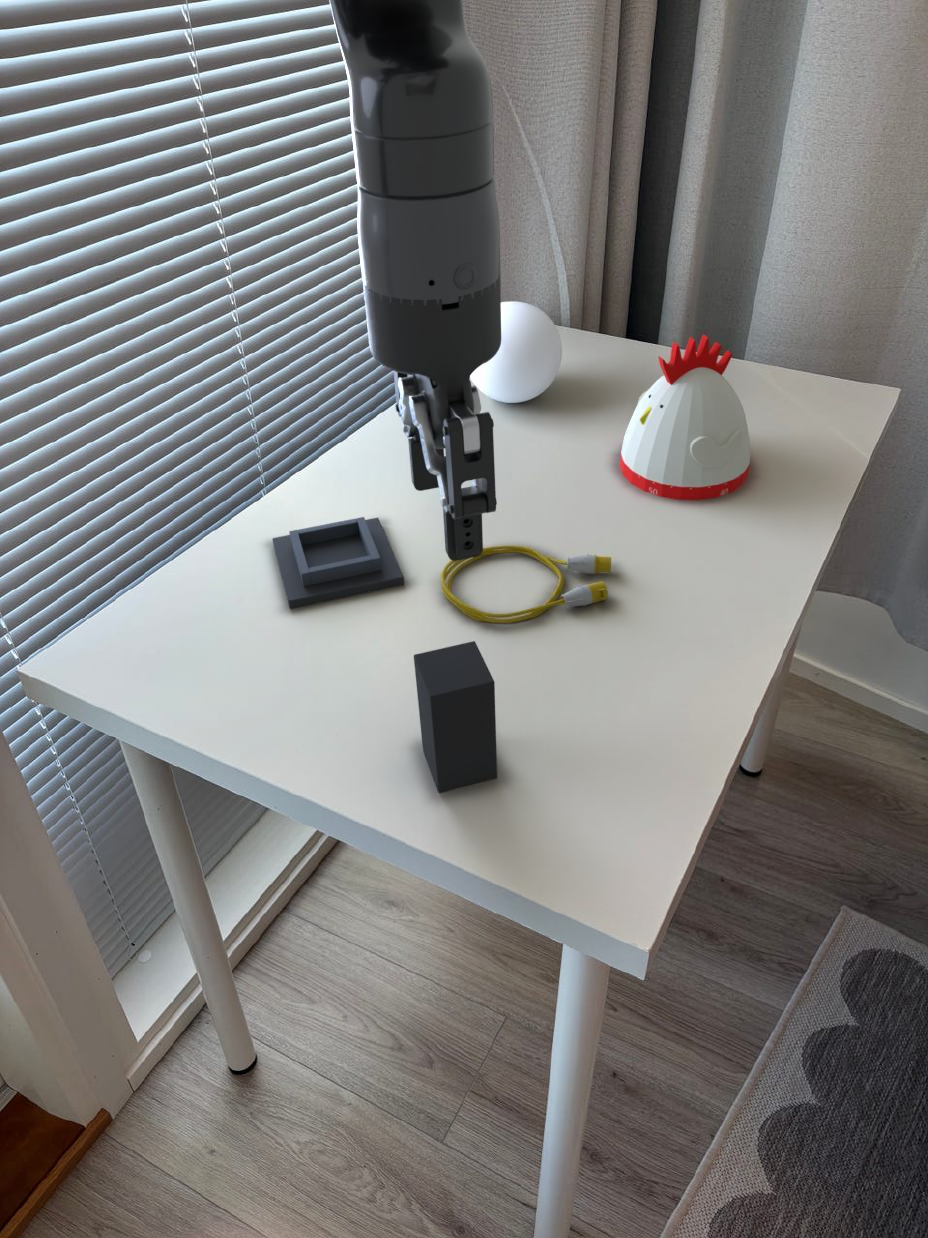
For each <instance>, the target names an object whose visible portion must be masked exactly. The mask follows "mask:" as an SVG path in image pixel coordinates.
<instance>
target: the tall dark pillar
mask: <svg viewBox="0 0 928 1238" xmlns="http://www.w3.org/2000/svg"><path fill="white" fill-rule="evenodd" d="M413 664H414V665H413V666H414V673H415V674H414V675H415V683H416V695H417V703H418V704H417V705H418V715H419V724H420V733H421V743H422V751H423V754H424V757H425V760H426V764H427V766H428V768H429V771H430V774H431V776H432V779H433V782H434V785H435V787H436V790H437V793H438V794H443V793H446V792H449V791H453V790H457V789H461V788H464V787H465V788H466V787H468V786H473V785H476V784H480V783H484V782H485V783H486V782H487V781H492V780H496V779H498V761H497V760H498V759H497V758H498V757H497V756H498V755H497V728H496V727H497V724H496V723H497V722H496V720H497V719H496V689H495V684H496V683H495V680H494V678H493V675H492V674H491V671H490V669H489V667H488V665H487V663H486V661H485V659H484V657H483V655H482V653H481V651H480V649H479V647H478V645H477V643H476V641H475V640H472V641H468V642H464V643H460V644H456V645H451V646H446V647H442V648H437V649H433V650H429V651H423V652H420V653H415V654H413Z"/></svg>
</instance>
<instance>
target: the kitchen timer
mask: <svg viewBox="0 0 928 1238" xmlns="http://www.w3.org/2000/svg"><path fill="white" fill-rule="evenodd" d="M670 350H671V351H670V357H669V362H666V360H665V359H664V358H662V357H661V356H660V355H658V362H659V367H660V369H661V371H662V373H663V375H662V376H661V377H659V378H658V379H657V380H656V381H655V382H654V383H653V384H652V385H651V386H650V388H648V389H646V390H645V391H643V392H642V394H640V396H639V398H638V401H637V405H636V407H635V409H634V411H633V414H632V416H631V418H630V421H629V422H628V425H627V427H626V431H625V434H624V437H623V441H622V446H621V451H620V460H619V461H620V462H619V468H620V470H621V473H622V476H623V477H624V478H625V479H626V480H627V481H628V482H629V483H630V484H631V485H632V486H635V487H636V488H638V489H640V491H642V492H645V493H649V494H650V495H654V496H657V497H659V498H666V499H671V500H678V501H702V500H703V501H704V500H709V499H715V498H716V499H717V498H720V497H722V496H725V495H728V494H731V493H733V492H735V491H736V490H738V489H739V488H740V487H742V486H743V485H744V483H745V481H746V480H747V478H748V476H749V472H750V465H751V441H750V439H751V438H750V431H749V427H748V422H747V417H746V412H745V409H744V407H743V404H742V402H741V400H740V398H739V396H738V395H737V393H736V391H735V390H734V388H733V386H732V385H731V383H730V382H729V381H728V380H727V379H726V378H725V377H724V376H723V374H724V373H725V371H726V369H727V367H728V366H729V364H730V362H731V360H732V357H733V353H732V352H730V351H729V350H725V352H724V353H723V355H722V356H721V357H720V359H719V355H720V353H721V351H722V344H720V343H718V342H717V341H715V342H714V343H713V345H712V347H711V348H710V338H709V337H708V336H707V335H705V334H702V336H701V337H700V341H699V344H698V347H697V341H696V339H695V338H693V337H691V336H690V337H689V339H688V341H687V344H686V347H685V351H684V354H683V357H682V352H681V348H680V345H679V344H678V343H676V342H674V341H673V342H672V344H671V349H670ZM718 359H719V360H718Z"/></svg>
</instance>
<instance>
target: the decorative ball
mask: <svg viewBox="0 0 928 1238" xmlns="http://www.w3.org/2000/svg"><path fill="white" fill-rule="evenodd" d="M562 344H563V343H562V339H561V336H560V333H559V331H558V328H557V326H556V324H555V323H554V321H553V320H552V319H551V317H549V315H548V314H546V313H545V312H544V311H543V310H542V309H540V308H538V307H537V306H536V305H533V304H530V303H528V302H523V301H515V300H514V301H501V345H500V348H499V350H498V352H497V353H496V355H495V356H494V357H493V358H492V359H491V360H489V361H488V362H486V363H484V364H482V365H481V366H479V367H478V368H477V369H476V370H475V371H474V372H473V373H472V374H471V375H470V380H471V382H472V383H473V384H474V385H475V386H476V387H477V390H478V391H480V392H482V393H483V394H484V395H485V396H487V397H488V398H490V399H492V400H494V401H497V402H501V403H508V404H517V403H523V402H527V401H530V400H532V399H535V398H536V397H538V396H539V395H541V394H542V393H544V392H545V391H546V390H547V389H548V388H549V387H551V385H552V383H553V382H554V380H556V379H555V378H557V376H558V373H559V370H560V368H561V363H562V359H563V357H562V356H563V345H562Z"/></svg>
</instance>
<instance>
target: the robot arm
mask: <svg viewBox="0 0 928 1238" xmlns="http://www.w3.org/2000/svg"><path fill="white" fill-rule="evenodd" d="M329 5H330V9H331V15H332V18H333V23H334V27H335V31H336V35H337V39H338V43H339V46H340V50H341V55H342V58H343V61H344V65H345V71H346V76H347V81H348V89H349V110H350V111H349V113H350V125H351V134H352V145H353V156H354V165H355V174H356V182H357V240H358V242H357V243H358V250H359V251H358V252H359V260H360V261H359V262H360V270H361V279H362V280H361V281H362V289H363V298H364V306H365V317H366V318H365V319H366V326H367V334H368V337H367V338H368V347H369V351H370V353H371V355H372V357H373V359H374V360H375V361H376V362H378V364H379V365H381V366H383V367H384V368H385V369H388V370H391V371H393V381H394V393H395V405H394V407H395V412H396V413H397V415H398V417H399V418H401V421H402V427H401V429H402V432H403V434H404V435H405V437H406V438H407V441H408V455H409V464H410V476H411V477H410V478H411V482H412V483H411V484H412V485H413V488H414V489H415V490H416V491H419V492H422V491H428V490H433V489H439V494H440V504H441V507H442V513H443V515H442V517H443V532H444V548H445V549H444V550H445V553H446V554H447V557H448V559H449V560H450V561H451V560H452V561H456V562H457V561H458V560H462V559H467V558H469V559H471V558H473V557H477V556H479V555H480V554H481V553H482V551H483V548H484V539H483V535H484V534H483V514H489V513H494V512H495V513H496V511H497V505H498V501H497V494H496V493H497V491H496V490H497V489H496V469H495V468H496V467H495V444H494V427H495V424H494V423H495V422H494V419H493V418H492V415H491V413H490V411H485V412H481V411H482V403H481V399H480V394H479V389H478V388H477V386H476V385H475V384H474V385H472V381H471V378H470V375H471V374H472V373H473V372H474V371H475V370H476V369H477V368H478V367H479V366H481V365H482V364H484V363H486V362H488V361H489V360H491V359H492V358H493V357H494V356H495V355H496V353H497V352H498V350H499V348H500V345H501V302H502V292H501V291H502V288H501V287H502V286H501V226H500V216H499V215H500V214H499V207H498V201H497V193H496V183H495V147H494V146H495V143H494V142H495V139H494V138H495V137H494V136H495V135H494V101H493V100H494V99H493V88H492V87H493V86H492V80H491V75H490V70H489V67H488V65H487V62H486V60H485V59H484V57H483V55H482V54H481V52H480V51H479V50H478V49H477V47H476V45H474V43H473V41H472V40H471V38H470V36H469V33H468V29H467V26H466V19H465V11H464V3H463V0H329ZM468 481H470V483H471V484H470V485H471V486H468V487H466V486H465V487H462V485H463V484H464V483H465V482H468ZM467 560H468V559H467Z"/></svg>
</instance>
